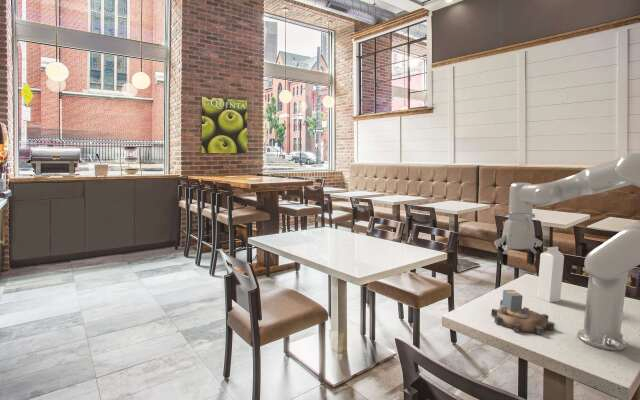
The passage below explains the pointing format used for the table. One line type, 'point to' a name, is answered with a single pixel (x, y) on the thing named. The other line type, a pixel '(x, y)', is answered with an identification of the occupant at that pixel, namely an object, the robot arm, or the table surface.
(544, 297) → the milk
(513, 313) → the sprocket
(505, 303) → the link block
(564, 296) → the table surface
